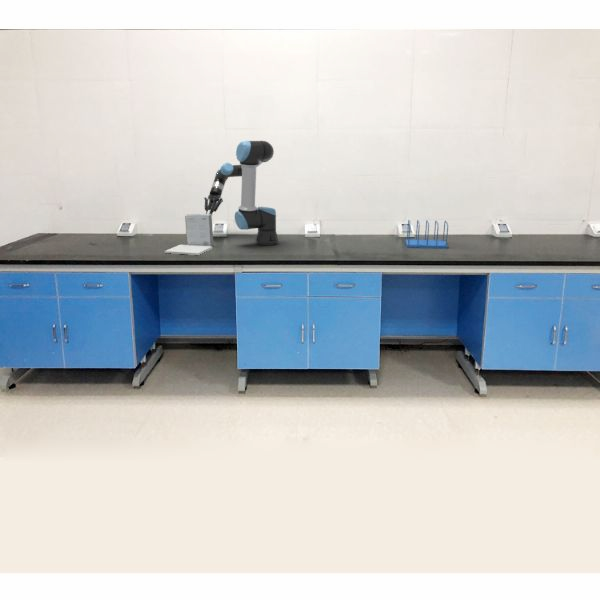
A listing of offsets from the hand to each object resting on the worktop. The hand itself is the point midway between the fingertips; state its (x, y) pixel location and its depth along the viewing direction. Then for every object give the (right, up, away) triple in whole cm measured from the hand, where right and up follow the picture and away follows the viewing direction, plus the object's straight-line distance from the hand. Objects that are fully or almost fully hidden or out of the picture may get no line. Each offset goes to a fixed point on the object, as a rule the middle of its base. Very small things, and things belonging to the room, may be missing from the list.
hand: (207, 219), depth 379 cm
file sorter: (+140, -18, -6) cm, 141 cm away
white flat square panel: (-8, -22, -21) cm, 32 cm away
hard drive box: (-3, -18, -7) cm, 20 cm away
